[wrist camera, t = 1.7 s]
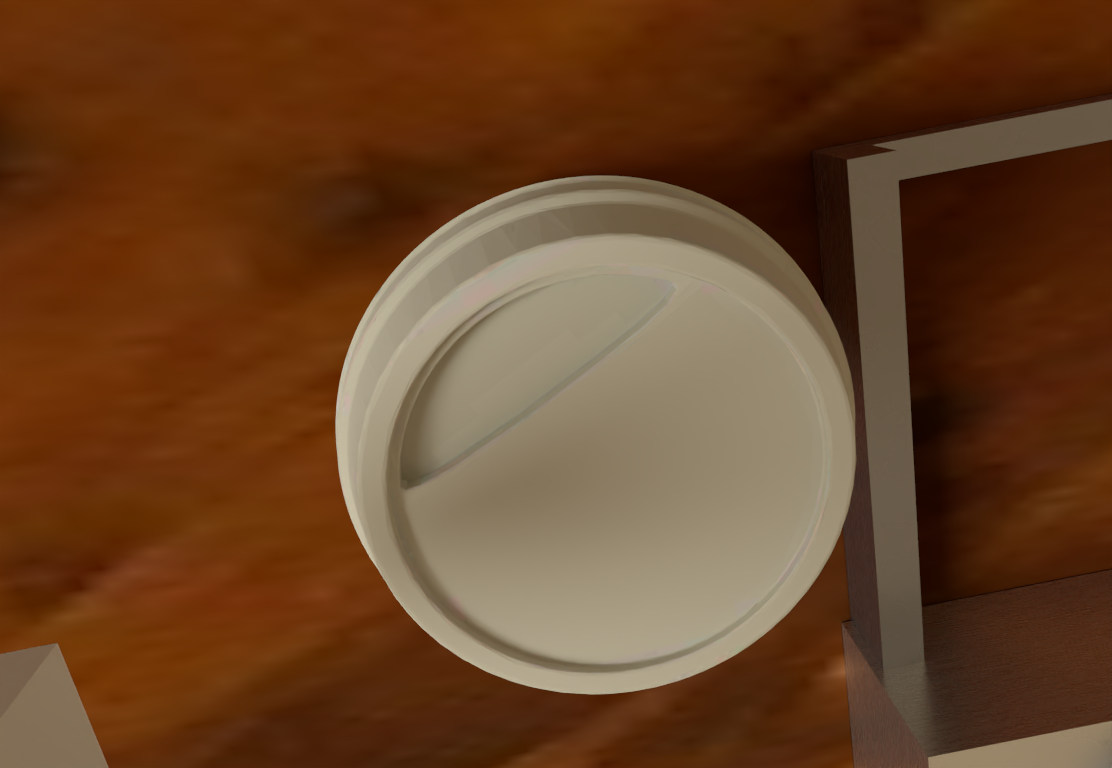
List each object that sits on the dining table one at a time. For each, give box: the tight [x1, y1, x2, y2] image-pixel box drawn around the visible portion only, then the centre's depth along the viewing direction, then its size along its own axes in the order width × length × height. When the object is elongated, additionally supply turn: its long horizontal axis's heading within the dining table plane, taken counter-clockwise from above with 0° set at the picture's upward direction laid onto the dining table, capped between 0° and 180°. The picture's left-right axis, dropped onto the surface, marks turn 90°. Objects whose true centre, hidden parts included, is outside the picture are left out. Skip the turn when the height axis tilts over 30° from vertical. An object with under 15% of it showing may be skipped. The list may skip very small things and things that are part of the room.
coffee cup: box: [336, 176, 856, 694], centre depth 19 cm, size 8×8×12 cm
